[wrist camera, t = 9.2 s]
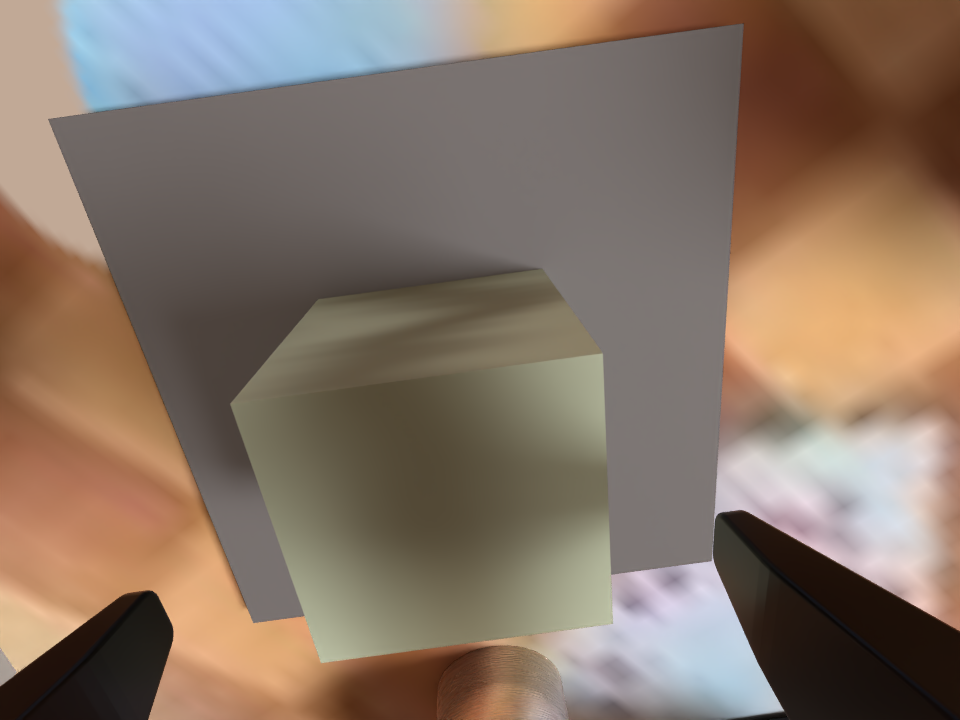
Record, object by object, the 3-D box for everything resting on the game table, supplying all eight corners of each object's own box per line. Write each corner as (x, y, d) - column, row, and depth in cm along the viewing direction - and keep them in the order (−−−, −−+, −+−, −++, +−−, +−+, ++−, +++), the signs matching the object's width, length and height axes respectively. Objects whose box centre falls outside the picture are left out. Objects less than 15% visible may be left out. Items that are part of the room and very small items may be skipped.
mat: (730, 28, 12) (743, 23, 12) (703, 548, 19) (711, 561, 18) (65, 119, 13) (48, 118, 12) (259, 608, 19) (253, 623, 18)
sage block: (542, 269, 14) (603, 353, 8) (557, 459, 16) (613, 624, 11) (318, 299, 14) (230, 403, 8) (365, 485, 16) (321, 663, 11)
